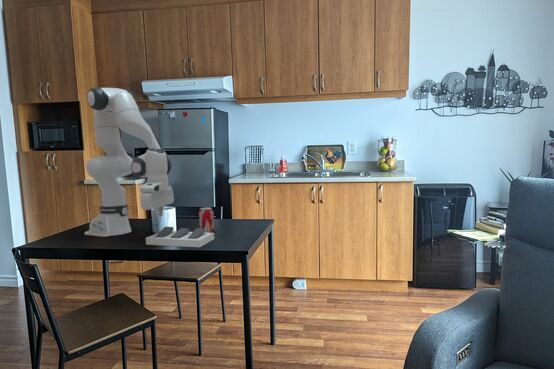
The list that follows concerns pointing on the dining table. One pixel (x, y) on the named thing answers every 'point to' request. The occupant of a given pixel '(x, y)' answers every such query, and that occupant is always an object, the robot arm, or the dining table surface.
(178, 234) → the middle rocker
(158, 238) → the rocker switch panel
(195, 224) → the dining table surface
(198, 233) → the rocker
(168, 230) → the rocker
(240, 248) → the dining table surface
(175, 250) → the dining table surface
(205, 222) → the soda can
